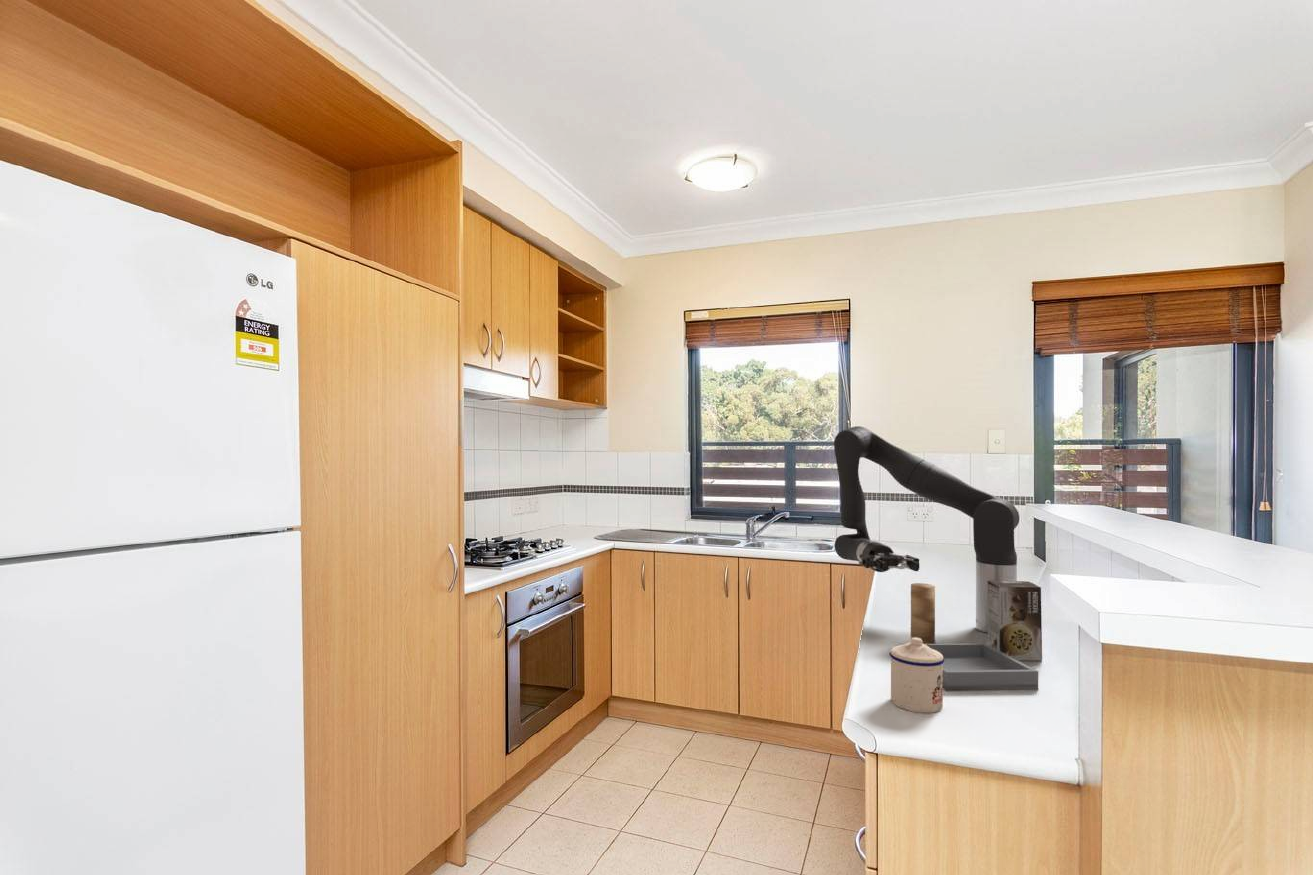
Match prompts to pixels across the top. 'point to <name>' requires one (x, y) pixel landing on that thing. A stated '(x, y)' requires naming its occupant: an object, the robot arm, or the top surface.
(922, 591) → the oak cylinder
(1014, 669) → the bin
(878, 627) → the top surface
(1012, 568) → the robot arm
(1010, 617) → the coffee box
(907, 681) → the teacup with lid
